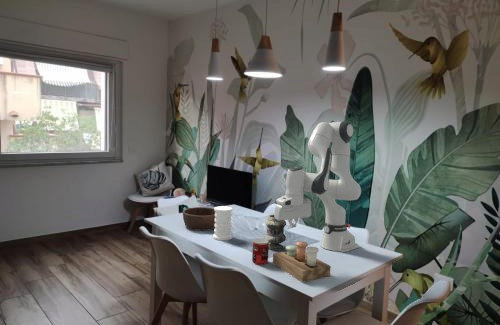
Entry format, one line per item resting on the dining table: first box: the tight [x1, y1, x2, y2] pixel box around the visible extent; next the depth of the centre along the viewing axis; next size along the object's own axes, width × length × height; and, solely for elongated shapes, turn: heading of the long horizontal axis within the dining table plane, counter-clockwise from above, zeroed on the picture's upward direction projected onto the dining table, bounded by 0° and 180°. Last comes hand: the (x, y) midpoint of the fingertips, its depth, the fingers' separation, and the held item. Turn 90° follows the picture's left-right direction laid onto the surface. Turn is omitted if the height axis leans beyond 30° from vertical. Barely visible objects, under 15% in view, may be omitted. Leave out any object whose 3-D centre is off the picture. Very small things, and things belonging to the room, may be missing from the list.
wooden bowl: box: [182, 206, 215, 231], centre depth 238 cm, size 25×25×10 cm
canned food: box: [251, 238, 270, 266], centre depth 179 cm, size 8×8×11 cm
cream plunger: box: [306, 246, 319, 266], centre depth 164 cm, size 6×6×8 cm
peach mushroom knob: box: [295, 240, 309, 260], centre depth 171 cm, size 6×6×8 cm
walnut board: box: [272, 250, 332, 283], centre depth 172 cm, size 16×24×5 cm, turn 29°
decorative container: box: [212, 205, 233, 242], centre depth 216 cm, size 12×12×18 cm
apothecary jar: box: [263, 214, 287, 251], centre depth 202 cm, size 12×12×18 cm
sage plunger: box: [285, 245, 297, 256], centre depth 179 cm, size 6×6×8 cm
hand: (292, 227), depth 177 cm, fingers closed
